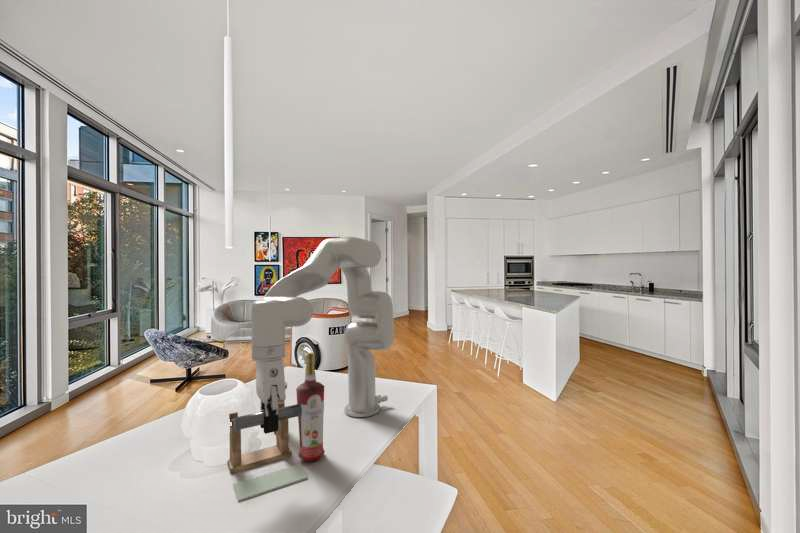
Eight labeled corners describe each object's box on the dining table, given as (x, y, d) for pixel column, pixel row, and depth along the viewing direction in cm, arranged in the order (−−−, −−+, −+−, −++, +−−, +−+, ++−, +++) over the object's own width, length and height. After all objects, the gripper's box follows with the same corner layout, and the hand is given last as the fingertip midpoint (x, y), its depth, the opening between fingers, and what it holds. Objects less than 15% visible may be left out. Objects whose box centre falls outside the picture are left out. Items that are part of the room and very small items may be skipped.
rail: (298, 413, 92) (298, 402, 92) (302, 417, 89) (301, 405, 89) (233, 428, 84) (233, 415, 84) (235, 432, 81) (235, 419, 81)
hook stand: (285, 446, 104) (284, 401, 104) (291, 455, 99) (290, 408, 99) (227, 463, 96) (226, 413, 96) (230, 473, 91) (229, 421, 91)
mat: (298, 465, 94) (298, 464, 94) (307, 478, 88) (307, 477, 88) (233, 485, 85) (233, 484, 85) (238, 501, 80) (238, 500, 80)
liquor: (302, 468, 92) (300, 358, 92) (294, 456, 99) (292, 353, 99) (329, 459, 96) (327, 354, 96) (320, 448, 102) (318, 349, 103)
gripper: (294, 356, 82) (295, 438, 82) (276, 344, 96) (276, 414, 95) (259, 360, 78) (259, 447, 78) (245, 347, 92) (246, 421, 91)
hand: (269, 428), depth 86 cm, fingers closed on rail, 2 cm apart
